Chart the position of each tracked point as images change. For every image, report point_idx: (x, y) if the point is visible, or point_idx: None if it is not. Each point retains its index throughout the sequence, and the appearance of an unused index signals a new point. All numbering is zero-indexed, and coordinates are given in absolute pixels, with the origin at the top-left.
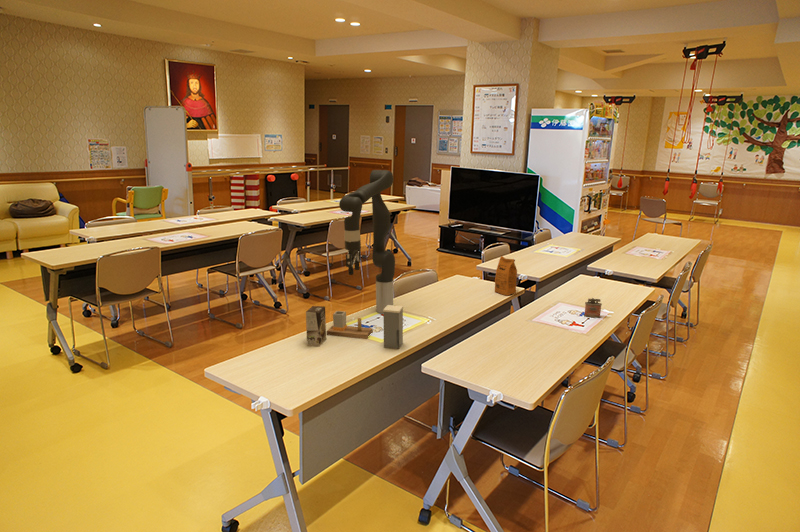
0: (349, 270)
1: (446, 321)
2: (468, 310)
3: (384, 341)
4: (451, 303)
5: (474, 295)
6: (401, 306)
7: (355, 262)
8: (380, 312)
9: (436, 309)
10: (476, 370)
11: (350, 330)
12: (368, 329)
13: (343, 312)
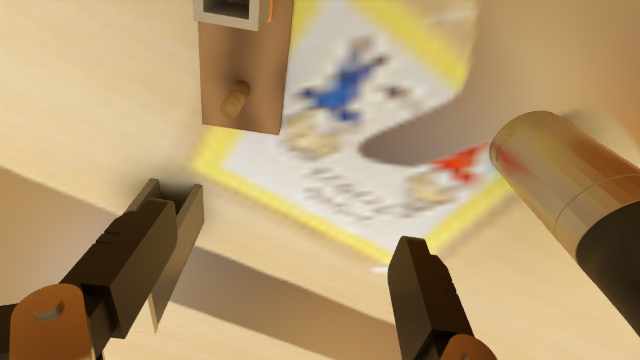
0: (92, 258)
1: (391, 302)
2: None
3: (141, 193)
4: (546, 312)
5: (598, 350)
6: (148, 330)
7: (433, 341)
8: (500, 133)
9: (500, 284)
10: (111, 338)
11: (234, 46)
12: (261, 122)
13: (249, 14)
